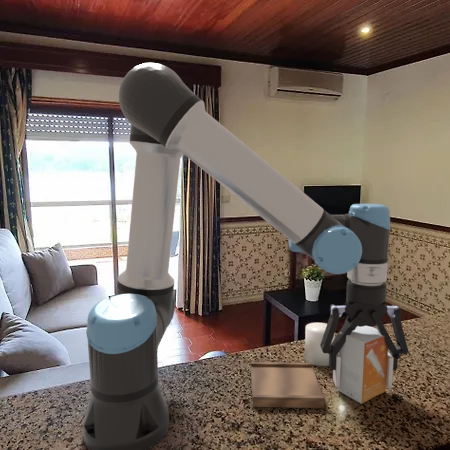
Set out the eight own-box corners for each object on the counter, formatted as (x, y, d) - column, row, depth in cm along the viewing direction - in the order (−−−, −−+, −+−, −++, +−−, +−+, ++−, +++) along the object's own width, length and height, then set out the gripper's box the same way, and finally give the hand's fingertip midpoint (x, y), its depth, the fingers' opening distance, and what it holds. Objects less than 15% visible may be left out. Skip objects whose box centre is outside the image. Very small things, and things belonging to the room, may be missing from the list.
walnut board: (252, 406, 77) (252, 396, 77) (250, 370, 91) (250, 362, 91) (324, 407, 77) (324, 398, 77) (311, 371, 91) (311, 362, 90)
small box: (361, 405, 78) (364, 343, 76) (336, 390, 83) (338, 331, 81) (386, 392, 82) (389, 333, 80) (361, 378, 87) (363, 323, 85)
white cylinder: (307, 366, 93) (308, 334, 92) (301, 348, 102) (302, 318, 101) (337, 366, 93) (338, 334, 92) (328, 348, 102) (329, 319, 101)
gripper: (313, 286, 76) (310, 393, 79) (432, 286, 75) (424, 394, 78) (307, 275, 83) (304, 373, 86) (415, 275, 82) (408, 375, 85)
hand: (361, 383), depth 82 cm, fingers closed on small box, 10 cm apart
